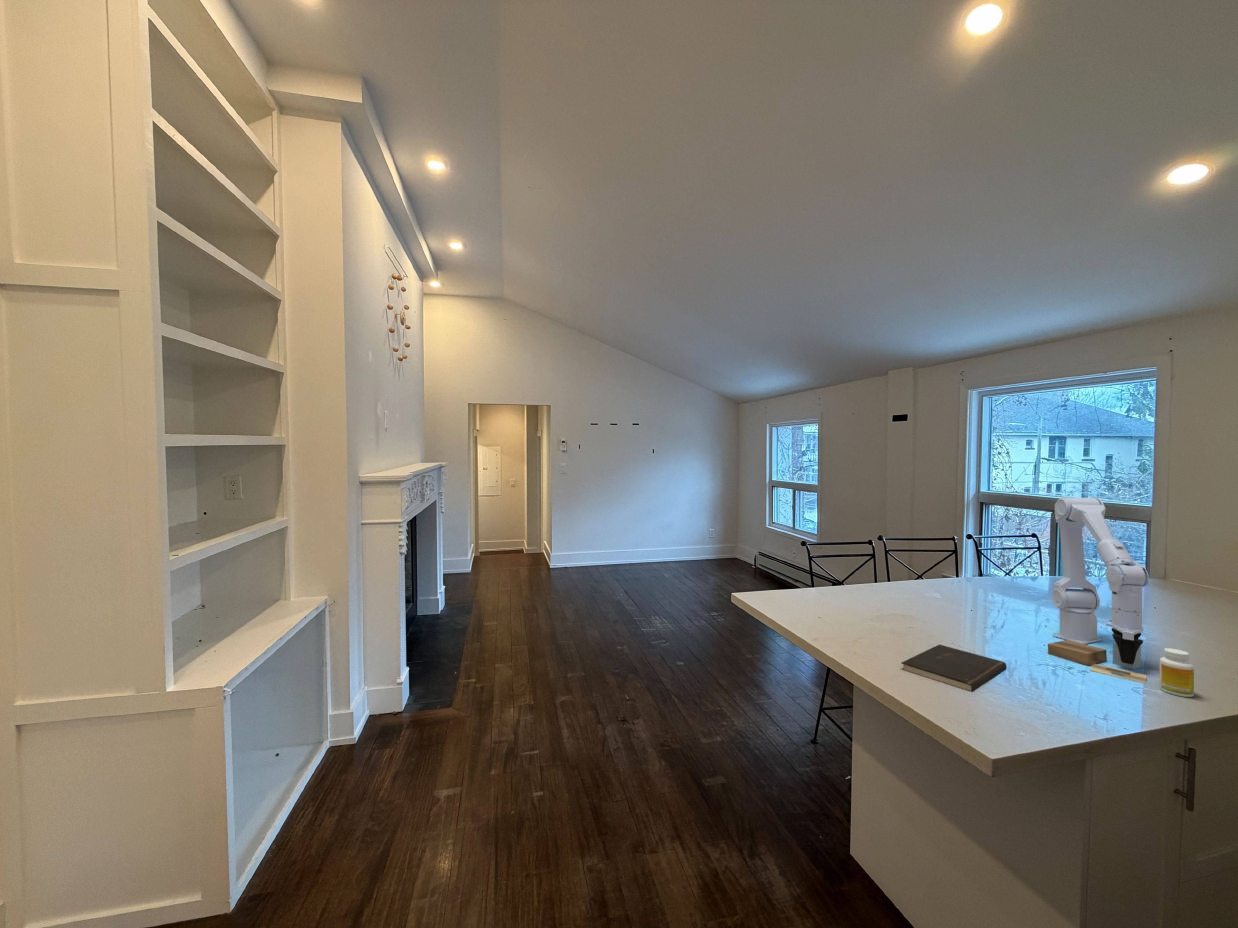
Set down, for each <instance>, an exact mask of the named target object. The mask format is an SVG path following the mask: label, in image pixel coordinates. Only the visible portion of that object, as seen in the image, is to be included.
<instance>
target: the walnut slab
mask: <svg viewBox="0 0 1238 928" xmlns="http://www.w3.org/2000/svg"><path fill="white" fill-rule="evenodd" d="M1107 653H1108V652H1107V649H1104V648H1101V647H1097V646H1095V645H1089V644H1081V643H1077V642H1073V641H1069V640H1065V639H1063V640H1060V641H1055V642H1050V643H1047V654H1048V655H1050V656H1052V657H1053V656H1054V657H1055V658H1056V657H1057V658H1060V659H1063V660H1067V661H1071V662H1073V663H1077V664H1081V665H1085V666H1092V664H1099V663H1103V662H1107V661H1108V658H1107V656H1108V655H1107Z"/></svg>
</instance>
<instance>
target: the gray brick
mask: <svg viewBox="0 0 1238 928" xmlns="http://www.w3.org/2000/svg"><path fill="white" fill-rule="evenodd" d="M1141 662H1142V645H1141V646H1140V647H1139V649H1138V651H1137V653H1136V657H1135V661H1134V663H1133V665H1132V664H1127V663H1122V661H1121V658H1120V654H1119V649H1118V646H1117V643H1116V642H1113V643H1112V664H1113V665H1117V666H1120V667H1123V668H1127V669H1131V670H1136V669H1139V668H1141V667H1142V663H1141Z"/></svg>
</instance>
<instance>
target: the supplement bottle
mask: <svg viewBox="0 0 1238 928" xmlns="http://www.w3.org/2000/svg"><path fill="white" fill-rule="evenodd" d="M1163 655H1164V656H1163V657H1160V658H1159V663H1158V664H1159V689H1160V690H1162V692H1165V693H1167V694H1170V695H1174V696H1178V697H1184V698H1190V697H1191V698H1192V697H1194V695H1195V677H1194V676H1195V666H1194V665H1193V663H1192V662H1190V661H1189V660H1190V653H1189V652H1188V651H1184V650H1180V649H1177V648H1176V649H1175V648H1171V647H1170V648H1169V647H1165V648H1163Z"/></svg>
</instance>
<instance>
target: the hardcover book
mask: <svg viewBox="0 0 1238 928" xmlns="http://www.w3.org/2000/svg"><path fill="white" fill-rule="evenodd" d="M901 665H902V669H903V670H904V671H907V672H910V673H914V674H917V675H920V676H923V677H926V678H929V679H932V680H934V681H938V682H940V683H941V682H942V683H944V684H948V685H951V686H954V687H957V688H961V689H964V690H965V691H969V692H972V693H973V692H974V691H976V690H977V689H979V688H981V687H982V686H983V685H985V684H987V683H988V682H989V681H990V680H992V679H994V678H995V677H997V676H998V675H999V674H1001V673H1003V672H1004V671H1006V670H1007V667H1008V666H1007V664H1006V662H1005V661H1003V660H1000V659H999V660H998V659H995V658H991V657H988V656H985V655H980V654H976V653H973V652H969V651H964V650H961V649H958V648H954V647H949V646H946V645H943V644H937V645H935V646H933V647H931V648H929V649H927V650H925V651H922V652H920V653H919V654H916V655H914V656H912V657H910V658H908V659H906V660H904V661H902V662H901Z"/></svg>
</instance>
